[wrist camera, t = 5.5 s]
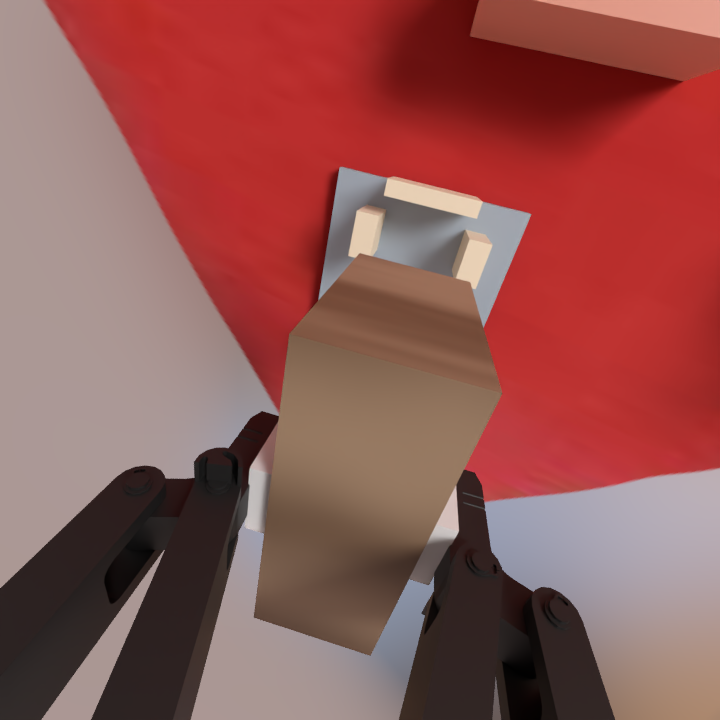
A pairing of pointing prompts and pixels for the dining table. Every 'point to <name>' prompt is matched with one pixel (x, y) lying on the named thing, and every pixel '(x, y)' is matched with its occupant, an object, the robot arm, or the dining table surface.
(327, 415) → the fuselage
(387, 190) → the jig
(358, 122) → the dining table surface
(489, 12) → the salmon pink block
